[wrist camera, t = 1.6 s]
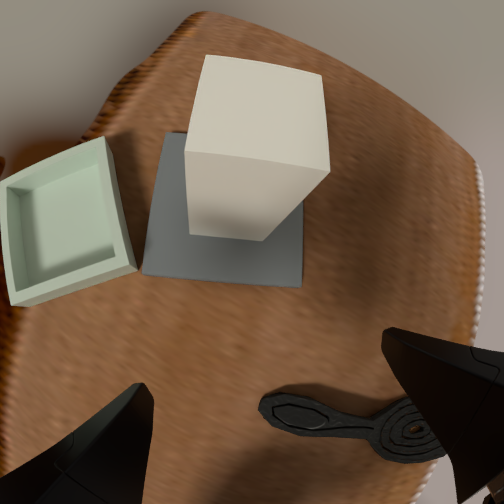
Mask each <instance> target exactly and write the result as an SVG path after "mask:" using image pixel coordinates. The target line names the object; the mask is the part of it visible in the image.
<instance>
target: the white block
mask: <svg viewBox="0 0 504 504" xmlns="http://www.w3.org/2000/svg"><path fill="white" fill-rule="evenodd" d="M184 155H185V176H186V193H187V207H188V220H189V233H190V234H192V235H203V236H213V237H223V238H234V239H244V240H254V241H263V240H264V239H265V238H266V237H267V236H268V235H269V234H270V233H271V232H272V231H273V230H274V229H275V228H276V227H277V226H278V225H279V224H280V223H281V222H282V221H283V220H284V219H285V218H286V217H287V216H288V215H289V214H290V213H291V212H292V211H293V210H294V209H295V207H296V206H297V205H298V204H299V203H300V202H301V201H302V200H303V199H304V198H305V197H306V196H307V195H308V194H309V193H310V192H311V191H312V190H313V189H314V188H315V187H316V186H317V185H318V184H319V183H320V182H321V181H322V180H323V179H324V178H325V177H326V176H327V175H328V174H329V173H330V159H329V145H328V133H327V122H326V112H325V102H324V93H323V85H322V77H321V75H318V74H314V73H310V72H306V71H302V70H298V69H294V68H289V67H285V66H280V65H275V64H270V63H264V62H259V61H253V60H246V59H240V58H232V57H224V56H215V55H206V57H205V61H204V65H203V68H202V72H201V76H200V80H199V84H198V89H197V93H196V97H195V101H194V106H193V110H192V115H191V120H190V124H189V129H188V134H187V139H186V144H185V150H184Z"/></svg>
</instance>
